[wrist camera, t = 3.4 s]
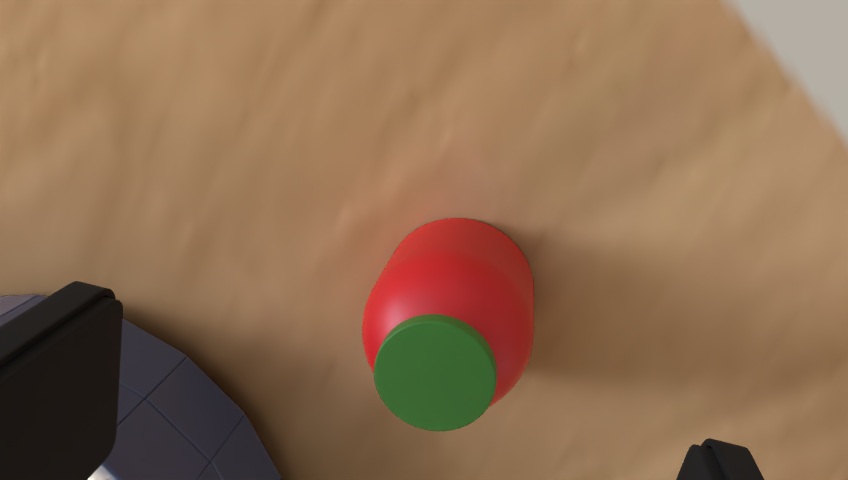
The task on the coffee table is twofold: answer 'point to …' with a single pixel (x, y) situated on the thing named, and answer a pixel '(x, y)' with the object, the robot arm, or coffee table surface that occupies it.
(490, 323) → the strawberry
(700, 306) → the coffee table surface
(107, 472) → the bowl
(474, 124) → the coffee table surface
